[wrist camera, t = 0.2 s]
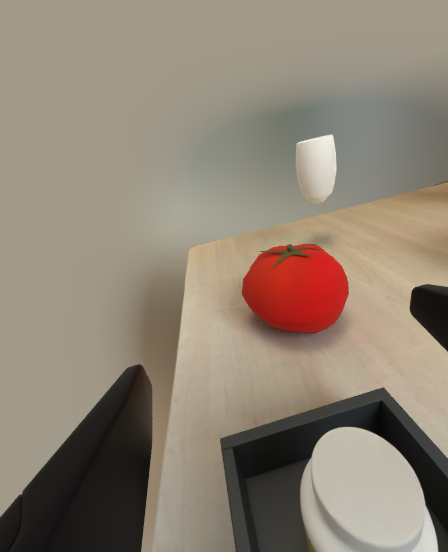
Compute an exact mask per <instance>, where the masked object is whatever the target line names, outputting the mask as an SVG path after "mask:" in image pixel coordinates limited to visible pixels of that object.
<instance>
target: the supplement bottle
mask: <svg viewBox="0 0 448 552" xmlns="http://www.w3.org/2000/svg"><path fill="white" fill-rule="evenodd" d="M300 504H301V513H302V518H303V523H304V528H305V533H306V538H307V543H308V549H309V552H438V544H437V538H436V533H435V529H434V526H433V523H432V520H431V517H430V514H429V512H428V510H427V508H426V506H425V500H424V495H423V491H422V488H421V485H420V482H419V480H418V478H417V476H416V474H415V472H414V470H413V469H412V467H411V466H410V464H409V463H408V461H407V460H406V459H405V458H404V457H403V455H402V454H401V453H400V452H399V451H398V450H397V449H396V448H395V447H393V446H392V445H391V444H390V443H389V442H387V441H386V440H384V439H383V438H381V437H380V436H378V435H376V434H374V433H372V432H369V431H367V430H364V429H360V428H354V427H341V428H336V429H333V430H331V431H329V432H327V433H326V434H325V435H323V436H322V437H321V438H320V439H319V441H318V442H317V444H316V445H315V447H314V450H313V453H312V458H311V459H310V460H309V462H308V464H307V465H306V468H305V470H304V473H303V476H302V480H301V487H300Z"/></svg>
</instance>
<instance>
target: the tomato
mask: <svg viewBox="0 0 448 552" xmlns="http://www.w3.org/2000/svg"><path fill="white" fill-rule="evenodd" d="M260 252H264V253H262V254H259V256H258V257H257V259H256V260H255V262H254V263H253V265H252V266H251V267H250V270H249V272H248V273H247V275H246V276H245V277H244V279H243V288H242V295H243V297H244V299H245V300H246V302H247V304H248V305H249V307H250V308H251V309H252V311H253V312H254V313H255V314H257V315H258V316H259V317H260V318H261V319H263V320H264V321H265V322H267V323H268V324H270V325H271V326H273V327H275V328H279V329H282V330H286V331H293V332H307V333H316V332H319V331H322V330H325V329H326V328H328V327H329V326H331V325H332V324H334V322H335V321H336V320H337V319H338V317H339V316H340V314H341V313H342V310H343V308H344V305H345V302H346V299H347V297H348V294H349V290H348V281H347V277H346V274H345V272H344V270H343V268H342V266H341V265H340V264H339V263H338V262H337V261H336V260H335V259H334V258H333V257H332V256H330V255H329V254H328V253H326V252H325V251H324V249H322V248H320V247H319V246H317V245H315V244H302V245H297V246H292V245H291V244H290V245H287V246H278V247H274V248H271V249H269V250H267V251H260Z"/></svg>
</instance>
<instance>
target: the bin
mask: <svg viewBox="0 0 448 552" xmlns="http://www.w3.org/2000/svg"><path fill="white" fill-rule="evenodd" d="M341 427H354V428H360V429H364V430H367V431H369V432H372V433H374V434H376V435H378V436H380V437H381V438H383V439H384V440H386V441H387V442H389V443H390V444H391V445H392V446H393V447H395V448H396V449H397V450H398V451H399V452H400V453H401V454H402V455H403V457H404V458H405V459H406V460H407V461H408V463H409V464H410V466H411V467H412V469H413V470H414V472H415V474H416V476H417V478H418V480H419V482H420V485H421V488H422V491H423V495H424V500H425V506H426V508H427V510H428V512H429V514H430V517H431V520H432V523H433V526H434V529H435V533H436V538H437V544H438V552H448V458H447V457H446V456H445V455H444V454H443V453H442V452H441V451H440V449H439V448H438V447H437V446H436V445H435V444H434V443H433V442H432V441H431V439H430V438H429V437H428V436H427V435H426V434H425V433H424V432H423V431H422V429H421V428H420V427H419V426H418V425H417V424H416V423H415V422H414V421H413V419H412V418H411V417H410V416H409V415H408V414H407V413H406V412H405V411H404V410H403V408H402V407H401V406H400V405H399V404H398V403H397V402H396V401H395V400H394V398H393V397H392V396H391V395H390V394H389V393H388V392H387V391H386V390H385V388H380V389H377V390H374V391H370V392H367V393H364V394H361V395H358V396H354V397H351V398H348V399H345V400H342V401H339V402H335V403H332V404H329V405H326V406H323V407H320V408H316V409H313V410H310V411H307V412H304V413H300V414H297V415H294V416H291V417H288V418H285V419H281V420H278V421H275V422H272V423H269V424H266V425H262V426H259V427H256V428H253V429H250V430H246V431H243V432H240V433H237V434H234V435H231V436H227V437H224V438H221V439H220V443H221V450H222V456H223V463H224V470H225V477H226V484H227V491H228V498H229V505H230V512H231V520H232V527H233V534H234V541H235V548H236V552H309V549H308V543H307V538H306V533H305V528H304V523H303V518H302V513H301V504H300V487H301V480H302V476H303V473H304V470H305V468H306V465H307V464H308V462H309V460H310V459H311V458H312V453H313V450H314V447H315V445H316V444H317V442H318V441H319V439H320V438H321V437H322V436H323V435H325V434H326V433H327V432H329V431H331V430H333V429H336V428H341Z"/></svg>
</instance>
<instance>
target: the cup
mask: <svg viewBox="0 0 448 552" xmlns="http://www.w3.org/2000/svg"><path fill="white" fill-rule="evenodd" d="M336 168H337V167H336V150H335V145H334V139H333V135H326V136H322V137H318V138H314V139H310V140H306V141H302V142H299V143H297V147H296V173H297V179H298V183H299V187H300V190H301V192H302V195H303V197H304V198H307V199H308V200H309V201H310V202H311V203H317V204H318V203H320V202H322V201H324V200H325V199H326V198H327V196H328V195H330V194H331V193H332V190H333V186H334V182H335V176H336Z"/></svg>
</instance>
